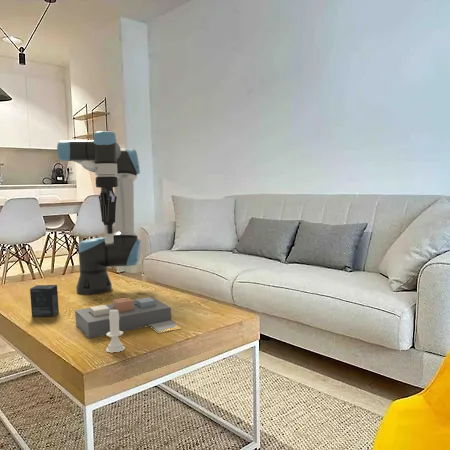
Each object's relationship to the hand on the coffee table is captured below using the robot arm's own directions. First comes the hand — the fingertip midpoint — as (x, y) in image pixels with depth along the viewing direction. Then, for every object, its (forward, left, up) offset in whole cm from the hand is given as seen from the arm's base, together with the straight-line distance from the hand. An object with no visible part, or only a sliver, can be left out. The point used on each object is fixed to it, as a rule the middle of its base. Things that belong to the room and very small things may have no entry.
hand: (109, 242), depth 157 cm
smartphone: (+21, +10, -27) cm, 36 cm away
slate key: (+12, +8, -24) cm, 28 cm away
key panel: (+12, 0, -26) cm, 29 cm away
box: (-14, -20, -27) cm, 37 cm away
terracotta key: (+12, 0, -22) cm, 25 cm away
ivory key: (+12, -8, -24) cm, 28 cm away
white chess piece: (+34, -10, -27) cm, 44 cm away
